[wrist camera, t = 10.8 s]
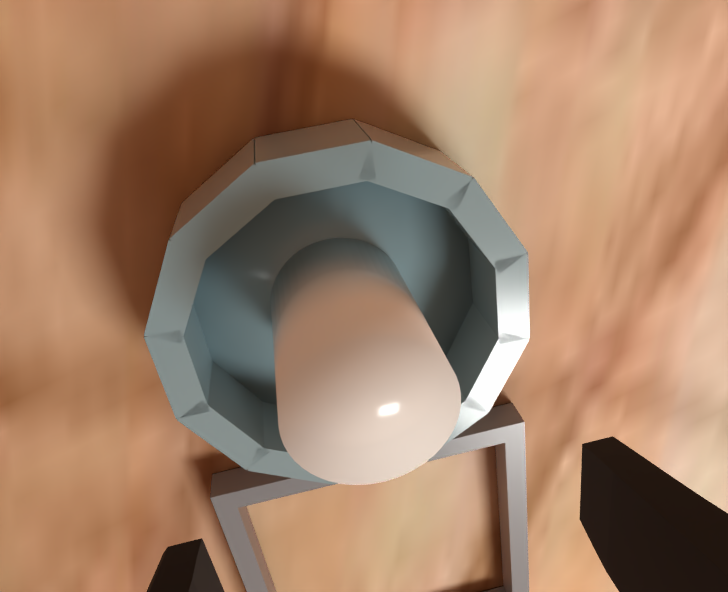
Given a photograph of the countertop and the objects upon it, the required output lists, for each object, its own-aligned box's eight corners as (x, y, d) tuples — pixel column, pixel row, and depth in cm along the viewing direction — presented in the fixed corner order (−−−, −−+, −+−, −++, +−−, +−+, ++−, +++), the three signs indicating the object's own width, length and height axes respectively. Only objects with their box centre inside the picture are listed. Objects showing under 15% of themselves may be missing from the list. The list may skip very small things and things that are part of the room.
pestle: (286, 369, 20) (299, 502, 15) (256, 253, 18) (257, 359, 13) (411, 341, 20) (467, 461, 15) (394, 224, 18) (453, 315, 13)
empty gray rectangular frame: (280, 655, 28) (281, 681, 27) (212, 474, 22) (210, 497, 21) (519, 592, 29) (529, 614, 28) (511, 402, 23) (524, 421, 22)
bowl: (218, 451, 22) (213, 514, 19) (114, 164, 17) (87, 195, 14) (499, 385, 23) (531, 436, 20) (483, 93, 17) (525, 109, 15)
